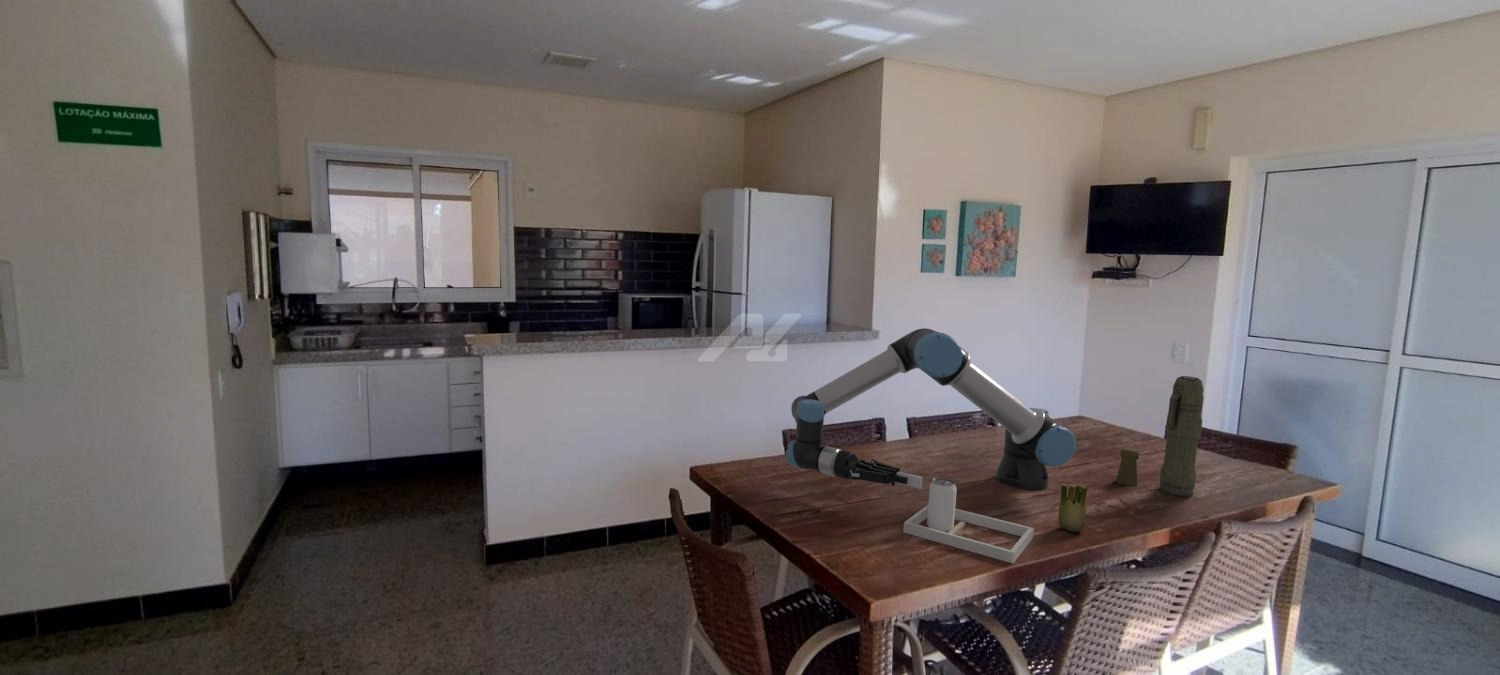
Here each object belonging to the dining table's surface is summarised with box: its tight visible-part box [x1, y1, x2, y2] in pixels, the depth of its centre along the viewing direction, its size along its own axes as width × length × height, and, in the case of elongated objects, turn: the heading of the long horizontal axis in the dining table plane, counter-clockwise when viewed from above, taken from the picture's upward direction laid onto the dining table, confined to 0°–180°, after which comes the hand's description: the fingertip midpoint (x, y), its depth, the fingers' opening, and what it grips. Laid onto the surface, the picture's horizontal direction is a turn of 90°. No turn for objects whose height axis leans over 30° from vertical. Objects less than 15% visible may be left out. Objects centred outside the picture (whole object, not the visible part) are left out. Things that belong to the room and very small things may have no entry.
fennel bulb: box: [1058, 483, 1088, 534], centre depth 170 cm, size 6×5×12 cm
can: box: [926, 477, 957, 533], centre depth 168 cm, size 6×6×12 cm
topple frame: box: [902, 504, 1035, 564], centre depth 165 cm, size 26×18×2 cm
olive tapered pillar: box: [1115, 447, 1140, 487], centre depth 209 cm, size 6×6×11 cm
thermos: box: [1158, 375, 1205, 498], centre depth 201 cm, size 9×12×35 cm
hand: (921, 482), depth 171 cm, fingers closed
